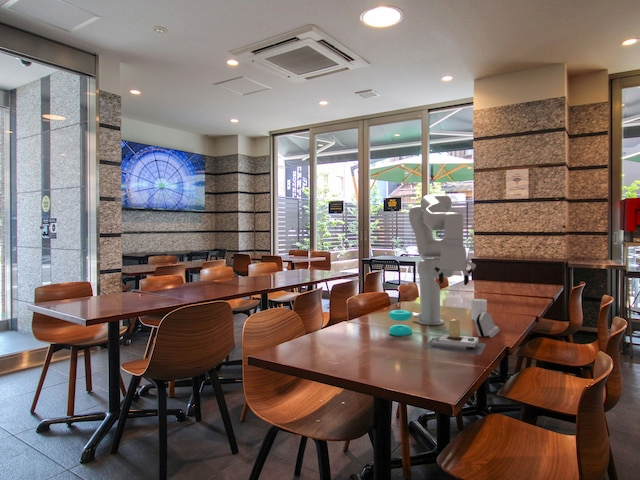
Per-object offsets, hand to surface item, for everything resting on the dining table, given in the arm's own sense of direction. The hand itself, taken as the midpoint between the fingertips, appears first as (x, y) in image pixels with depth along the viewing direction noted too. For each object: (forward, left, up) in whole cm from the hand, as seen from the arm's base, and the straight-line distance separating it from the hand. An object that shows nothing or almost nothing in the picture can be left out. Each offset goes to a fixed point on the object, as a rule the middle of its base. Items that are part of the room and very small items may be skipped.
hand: (453, 283), depth 169 cm
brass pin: (+2, -12, -23) cm, 26 cm away
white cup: (+3, +44, -23) cm, 50 cm away
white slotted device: (+10, +16, -24) cm, 30 cm away
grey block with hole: (+2, -12, -23) cm, 26 cm away
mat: (+2, -12, -23) cm, 26 cm away
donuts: (-23, -1, -23) cm, 33 cm away
